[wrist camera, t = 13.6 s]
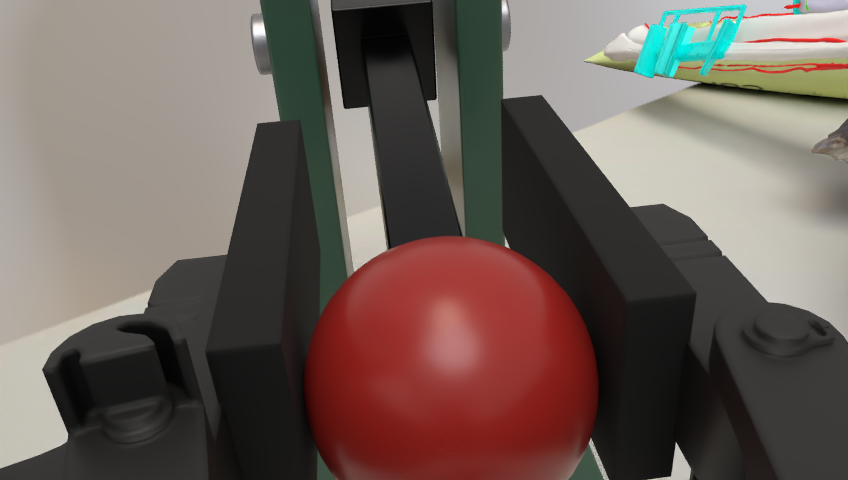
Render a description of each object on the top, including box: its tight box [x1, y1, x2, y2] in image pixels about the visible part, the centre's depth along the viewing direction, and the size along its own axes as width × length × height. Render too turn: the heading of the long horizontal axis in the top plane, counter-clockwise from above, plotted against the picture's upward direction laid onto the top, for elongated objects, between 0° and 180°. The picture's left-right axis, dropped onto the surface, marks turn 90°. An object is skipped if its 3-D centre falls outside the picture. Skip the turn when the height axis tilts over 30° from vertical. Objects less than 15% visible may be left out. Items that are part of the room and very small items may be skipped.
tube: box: [584, 19, 848, 99], centre depth 47 cm, size 6×5×20 cm
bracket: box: [251, 0, 604, 480], centre depth 20 cm, size 10×9×14 cm
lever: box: [303, 0, 599, 480], centre depth 13 cm, size 14×4×4 cm, turn 6°
